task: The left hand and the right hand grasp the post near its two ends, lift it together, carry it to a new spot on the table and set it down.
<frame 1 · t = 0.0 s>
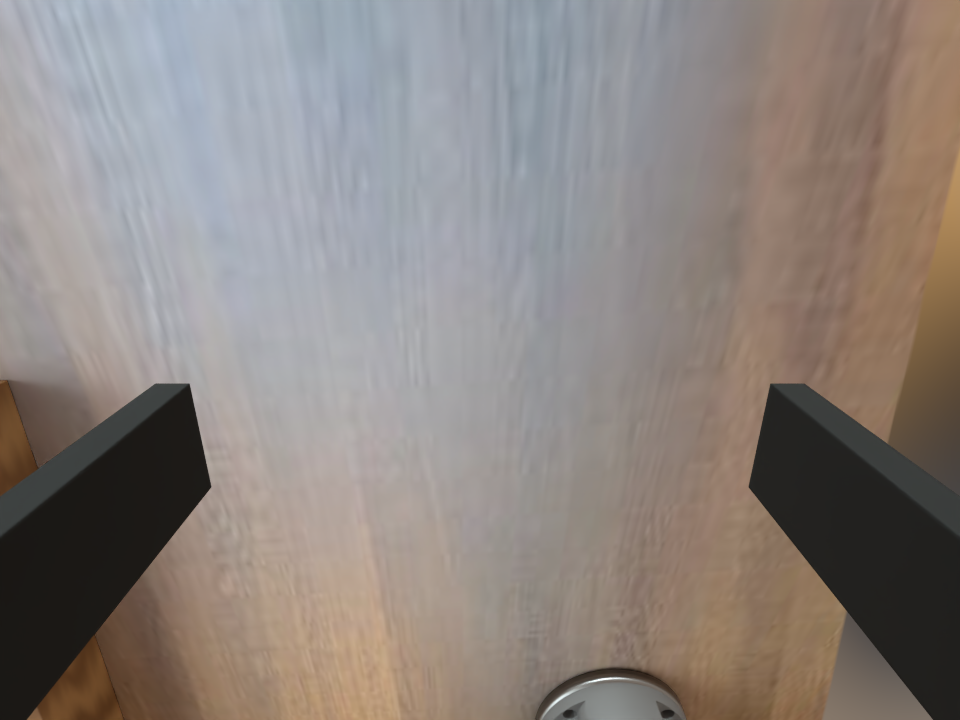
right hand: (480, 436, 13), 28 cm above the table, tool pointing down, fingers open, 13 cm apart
post: (70, 635, 52), on the table
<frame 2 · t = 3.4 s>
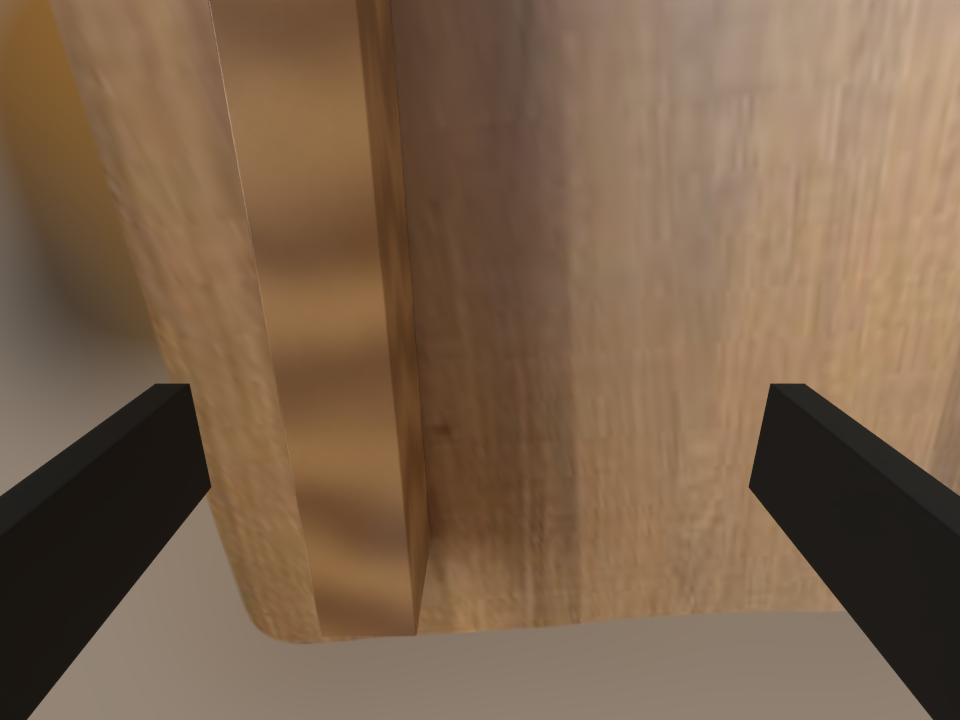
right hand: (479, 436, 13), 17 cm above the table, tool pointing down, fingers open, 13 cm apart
post: (341, 56, 24), on the table
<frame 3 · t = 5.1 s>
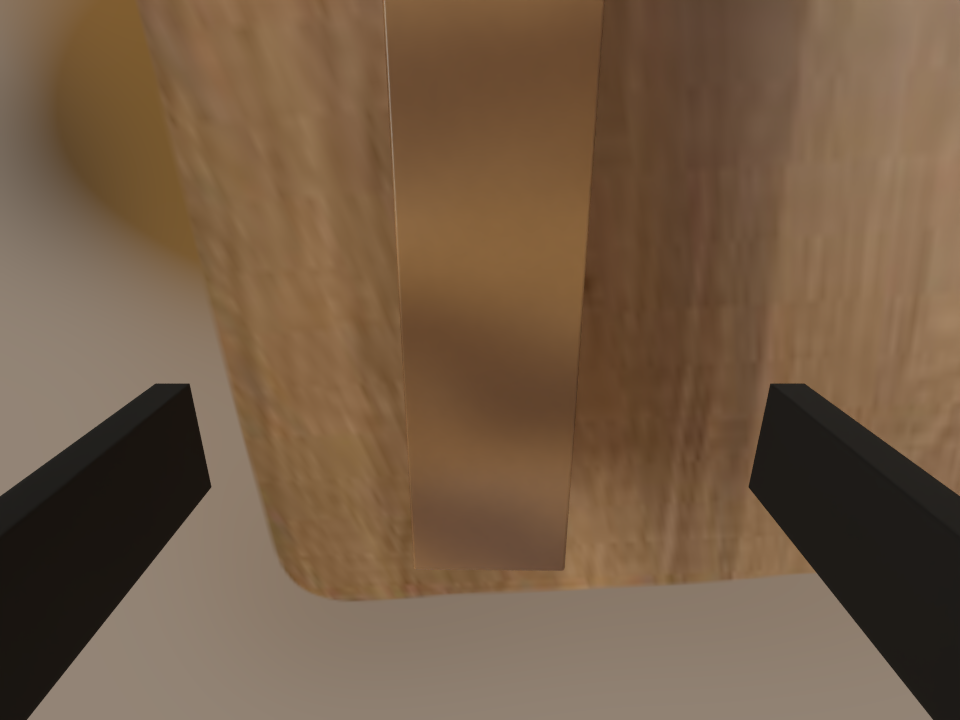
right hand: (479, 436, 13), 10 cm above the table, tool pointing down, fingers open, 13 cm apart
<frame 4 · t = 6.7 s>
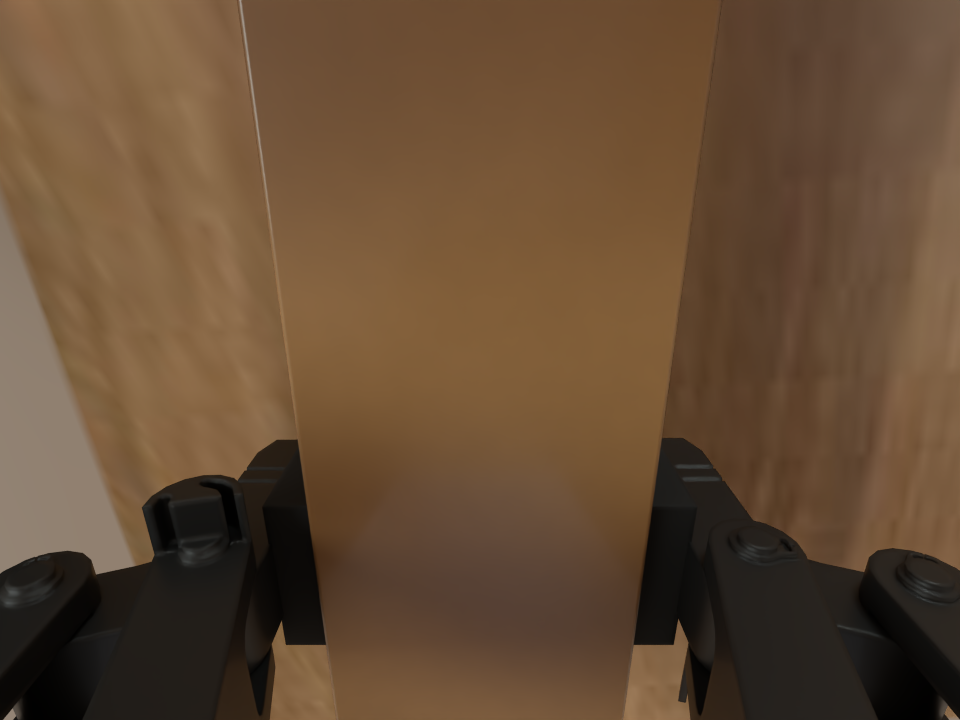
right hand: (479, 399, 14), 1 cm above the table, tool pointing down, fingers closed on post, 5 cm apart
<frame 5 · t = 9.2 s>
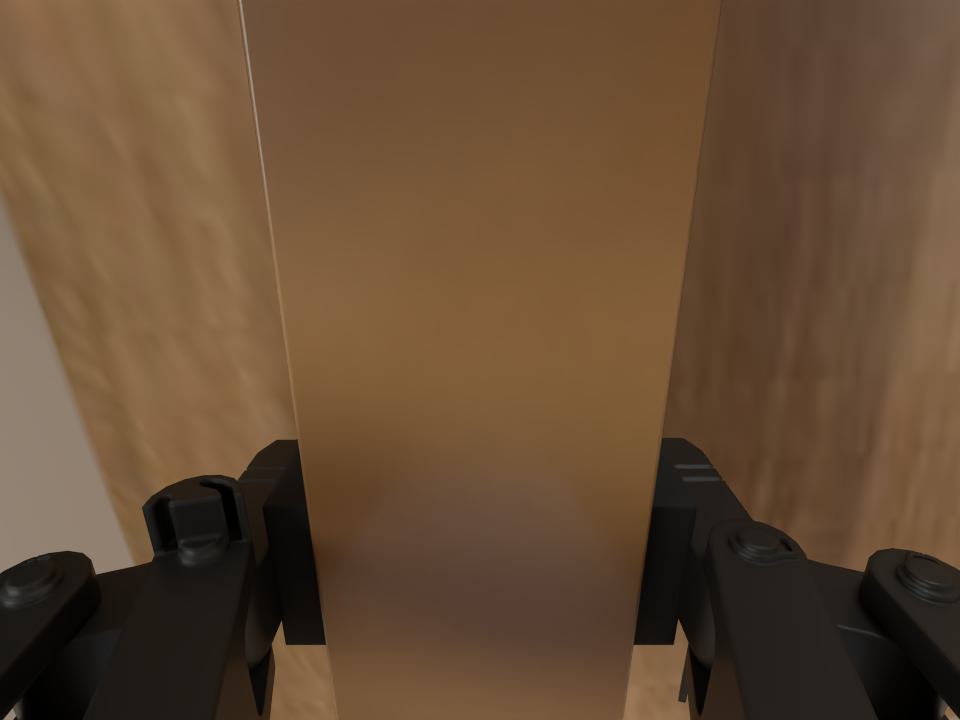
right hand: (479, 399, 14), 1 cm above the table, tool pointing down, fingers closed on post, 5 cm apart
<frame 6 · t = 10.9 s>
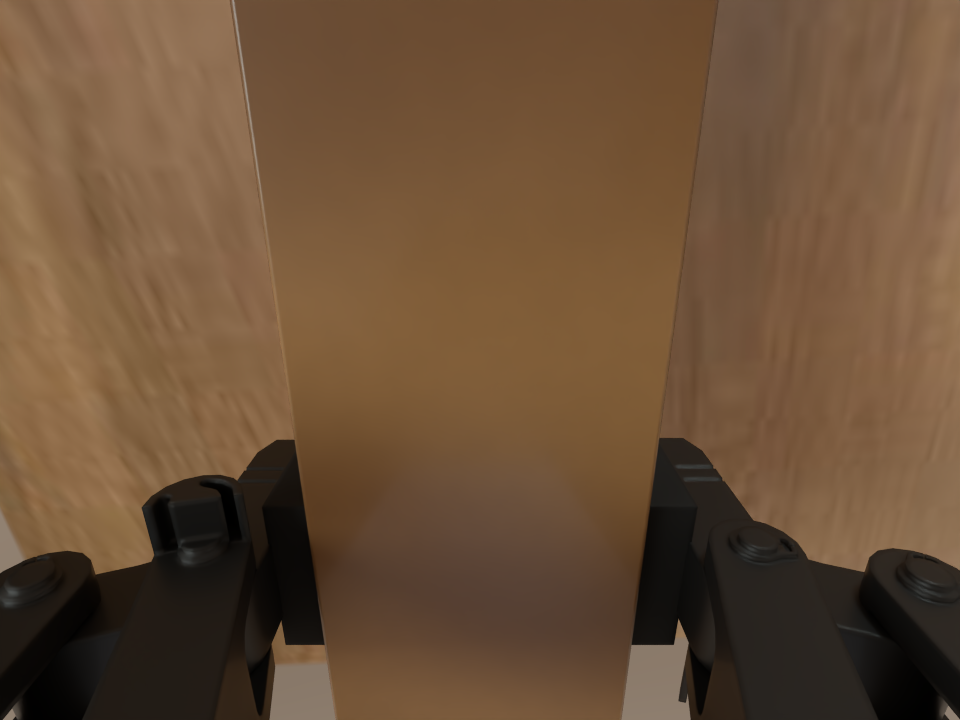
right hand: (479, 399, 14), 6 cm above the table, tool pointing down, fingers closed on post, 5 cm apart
when the left hand's fingers open (2 cm above the table, at t = 12.7 s): post drops 2 cm, on the table.
when the right hand's fingers open (2 cm above the table, at t = 12.7 s): post drops 2 cm, on the table.
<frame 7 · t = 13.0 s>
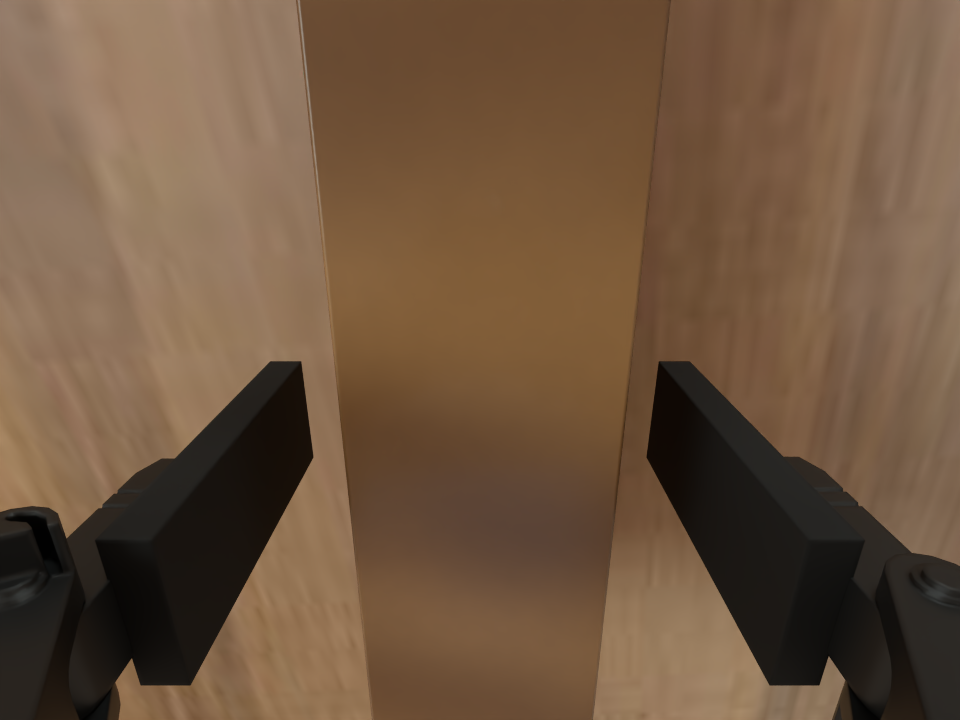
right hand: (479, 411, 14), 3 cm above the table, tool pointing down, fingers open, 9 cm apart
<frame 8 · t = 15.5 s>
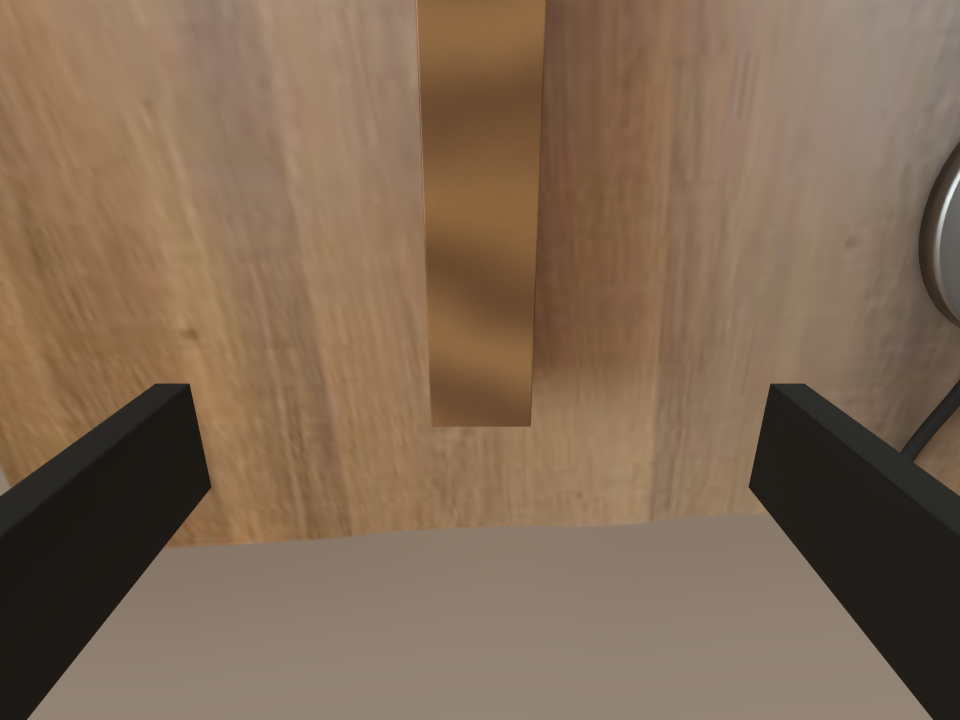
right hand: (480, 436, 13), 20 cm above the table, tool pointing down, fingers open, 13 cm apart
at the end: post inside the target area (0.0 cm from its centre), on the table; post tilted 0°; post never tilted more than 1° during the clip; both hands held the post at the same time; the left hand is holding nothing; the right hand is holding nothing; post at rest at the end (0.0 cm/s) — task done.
